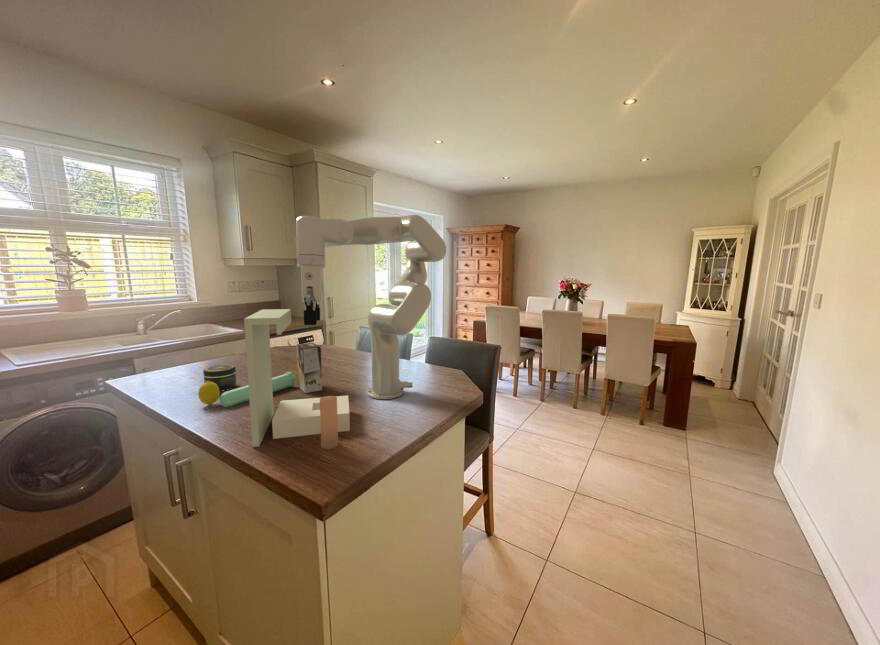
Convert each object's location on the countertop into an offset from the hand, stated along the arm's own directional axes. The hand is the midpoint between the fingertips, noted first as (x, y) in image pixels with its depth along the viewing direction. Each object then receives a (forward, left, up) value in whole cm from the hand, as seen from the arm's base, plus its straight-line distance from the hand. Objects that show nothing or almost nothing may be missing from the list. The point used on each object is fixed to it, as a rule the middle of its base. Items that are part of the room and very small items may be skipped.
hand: (312, 322), depth 101 cm
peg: (-4, +20, -28) cm, 35 cm away
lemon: (+33, -16, -28) cm, 46 cm away
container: (+20, -22, -28) cm, 41 cm away
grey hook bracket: (+10, +7, -28) cm, 30 cm away
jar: (+35, -34, -28) cm, 56 cm away
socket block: (0, +6, -28) cm, 29 cm away
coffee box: (+4, -26, -28) cm, 38 cm away
